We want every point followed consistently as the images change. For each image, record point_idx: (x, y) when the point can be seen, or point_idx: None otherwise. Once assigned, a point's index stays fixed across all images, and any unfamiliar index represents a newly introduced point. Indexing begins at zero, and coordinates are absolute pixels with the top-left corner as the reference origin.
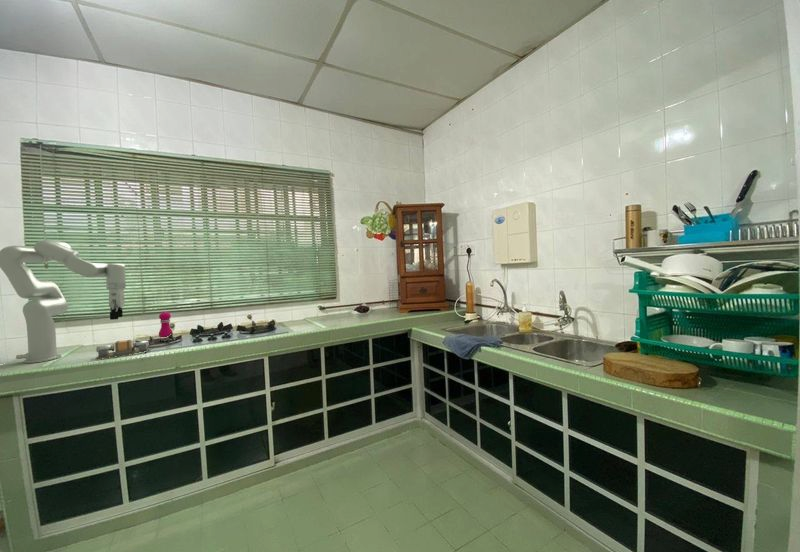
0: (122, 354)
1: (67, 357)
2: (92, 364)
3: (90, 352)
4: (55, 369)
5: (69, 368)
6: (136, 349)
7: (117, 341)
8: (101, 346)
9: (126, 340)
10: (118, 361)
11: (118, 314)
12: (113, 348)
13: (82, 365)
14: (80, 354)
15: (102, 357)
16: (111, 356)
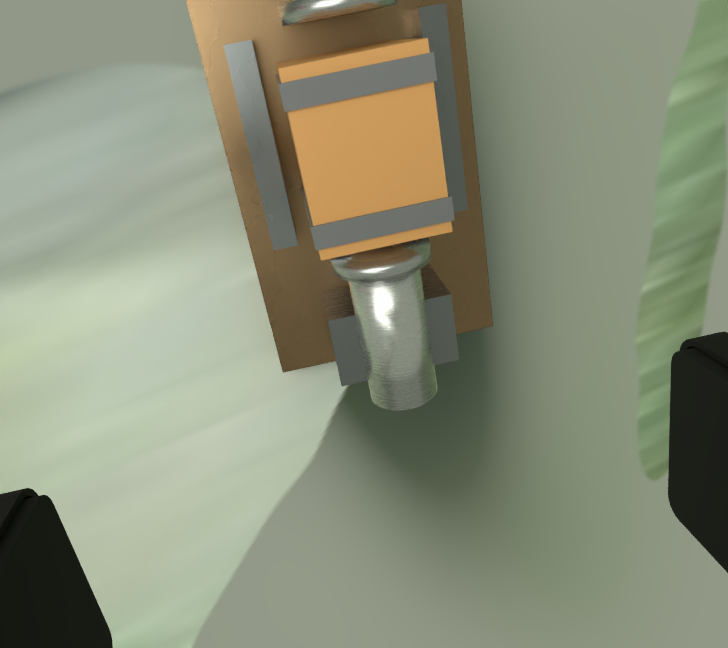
0: (470, 100)
1: (194, 617)
2: (667, 261)
3: None
4: (650, 467)
5: None
6: (232, 17)
7: (359, 236)
8: (410, 368)
9: (321, 128)
10: (712, 42)
11: (49, 646)
12: None
13: (646, 332)
14: (99, 583)
15: (485, 275)
16: (479, 201)
